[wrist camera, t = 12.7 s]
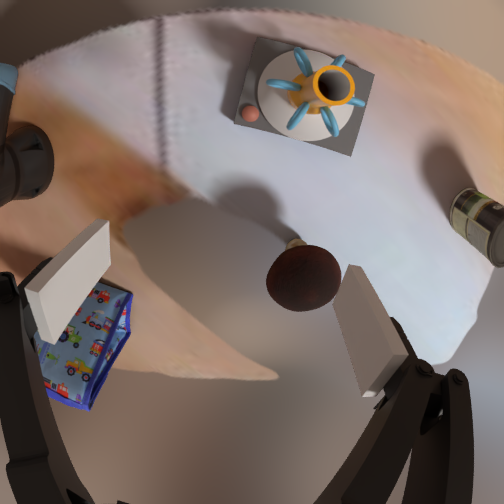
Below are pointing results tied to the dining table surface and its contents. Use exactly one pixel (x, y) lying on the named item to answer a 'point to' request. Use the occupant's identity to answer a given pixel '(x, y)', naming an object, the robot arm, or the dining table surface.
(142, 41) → the dining table surface
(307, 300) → the decorative mushroom
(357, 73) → the mount slab
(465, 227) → the coffee can
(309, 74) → the yellow tube with rings
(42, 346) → the lunch bag
